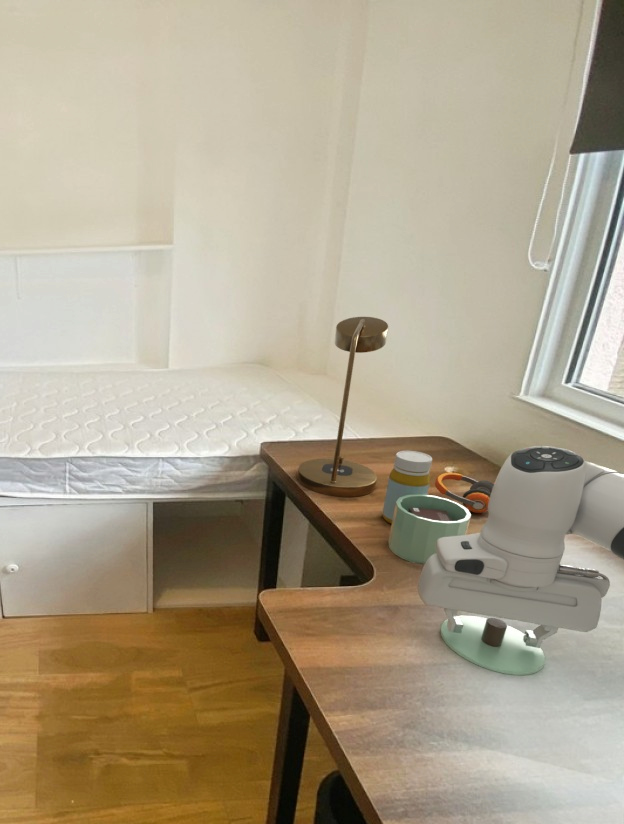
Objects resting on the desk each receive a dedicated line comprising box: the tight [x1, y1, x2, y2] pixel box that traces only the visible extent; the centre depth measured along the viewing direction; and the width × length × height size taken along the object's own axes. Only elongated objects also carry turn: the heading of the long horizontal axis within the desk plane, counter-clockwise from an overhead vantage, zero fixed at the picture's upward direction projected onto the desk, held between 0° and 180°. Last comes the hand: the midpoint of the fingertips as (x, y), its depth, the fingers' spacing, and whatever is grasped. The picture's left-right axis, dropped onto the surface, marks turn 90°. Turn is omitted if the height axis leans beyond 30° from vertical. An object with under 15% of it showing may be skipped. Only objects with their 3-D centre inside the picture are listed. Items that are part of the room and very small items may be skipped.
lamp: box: [296, 316, 389, 498], centre depth 134 cm, size 17×27×38 cm, turn 146°
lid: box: [440, 615, 546, 676], centre depth 83 cm, size 12×12×5 cm
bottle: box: [381, 450, 433, 525], centre depth 116 cm, size 7×7×15 cm
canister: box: [387, 494, 472, 565], centre depth 106 cm, size 11×11×10 cm
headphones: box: [434, 472, 495, 514], centre depth 119 cm, size 17×5×20 cm
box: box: [409, 508, 451, 521], centre depth 106 cm, size 6×6×7 cm
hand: (491, 637), depth 83 cm, fingers open, 8 cm apart
